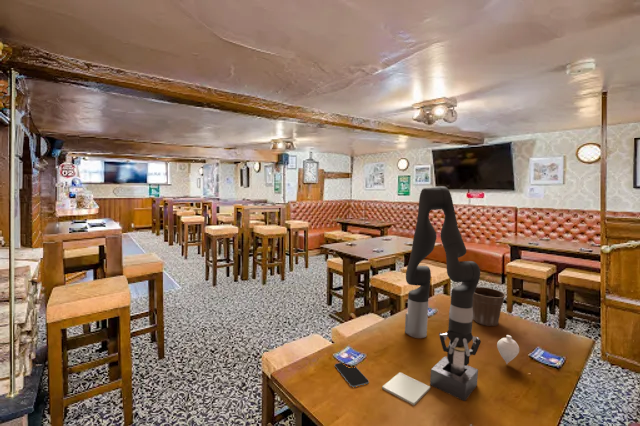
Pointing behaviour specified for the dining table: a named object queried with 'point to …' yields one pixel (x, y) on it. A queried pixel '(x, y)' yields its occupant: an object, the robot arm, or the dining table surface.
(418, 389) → the cream pad
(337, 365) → the smartphone
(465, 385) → the eye block
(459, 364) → the steel peg
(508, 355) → the spinning top
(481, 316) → the plant pot
